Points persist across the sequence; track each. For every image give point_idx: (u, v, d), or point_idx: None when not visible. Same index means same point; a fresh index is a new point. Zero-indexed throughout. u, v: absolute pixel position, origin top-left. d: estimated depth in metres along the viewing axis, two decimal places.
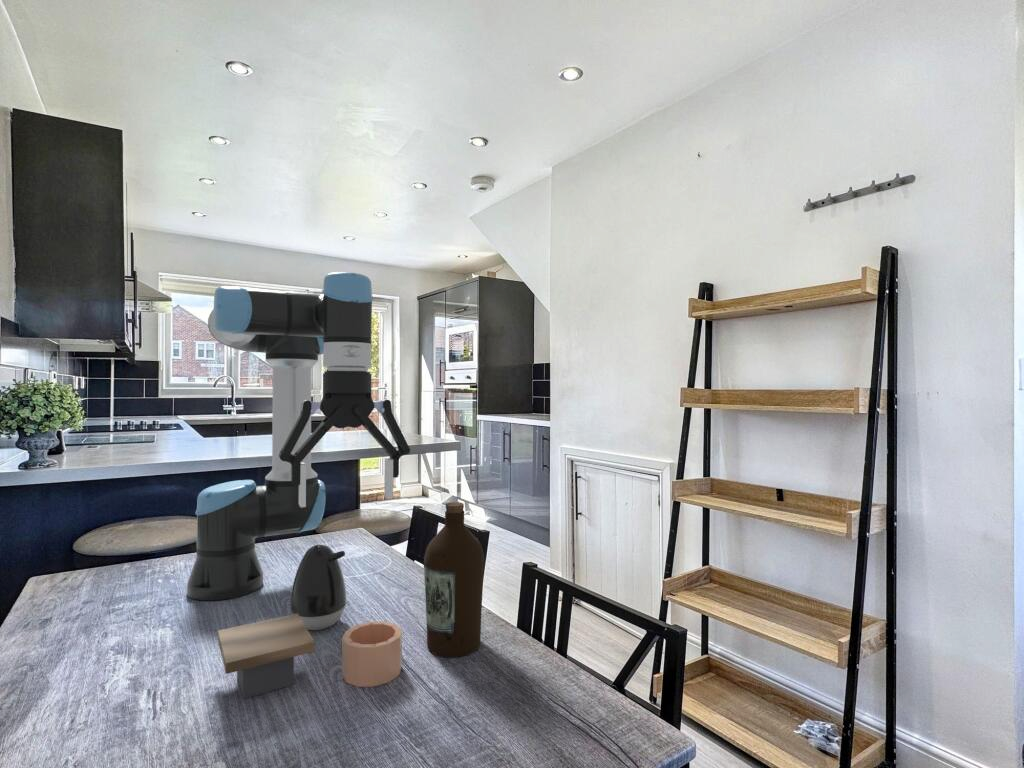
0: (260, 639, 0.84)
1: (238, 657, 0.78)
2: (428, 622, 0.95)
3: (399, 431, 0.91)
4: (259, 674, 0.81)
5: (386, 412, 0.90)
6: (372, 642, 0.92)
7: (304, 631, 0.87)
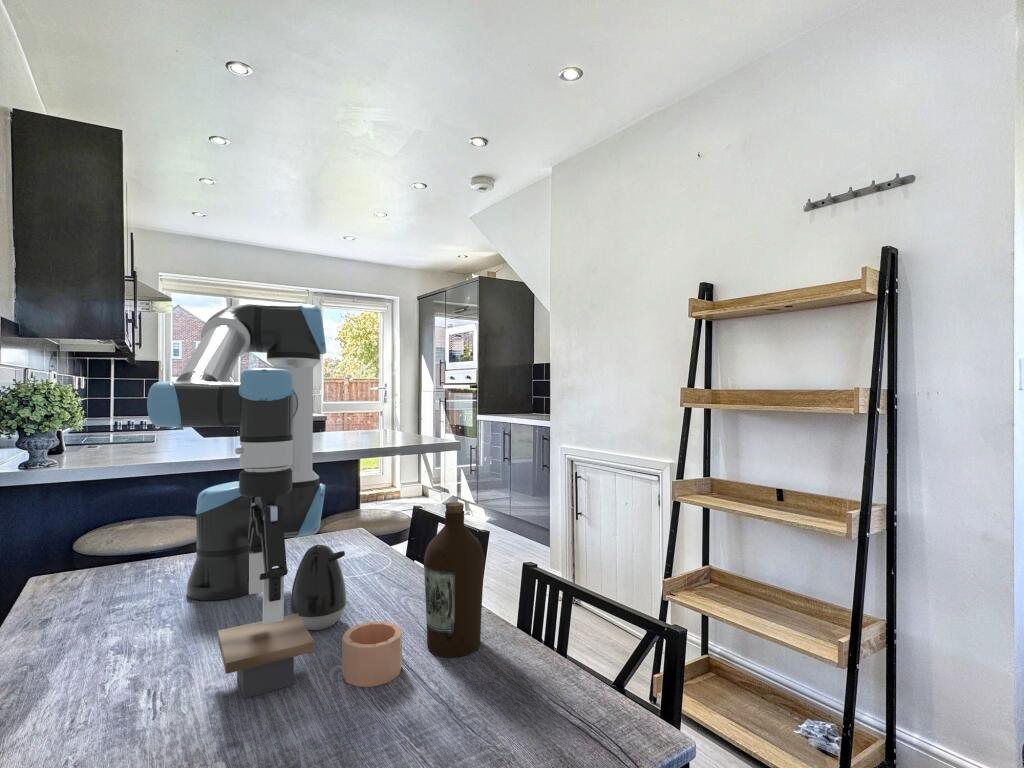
0: (260, 639, 0.84)
1: (238, 657, 0.78)
2: (428, 622, 0.95)
3: (266, 547, 0.77)
4: (259, 674, 0.81)
5: (264, 521, 0.79)
6: (372, 642, 0.92)
7: (304, 631, 0.87)
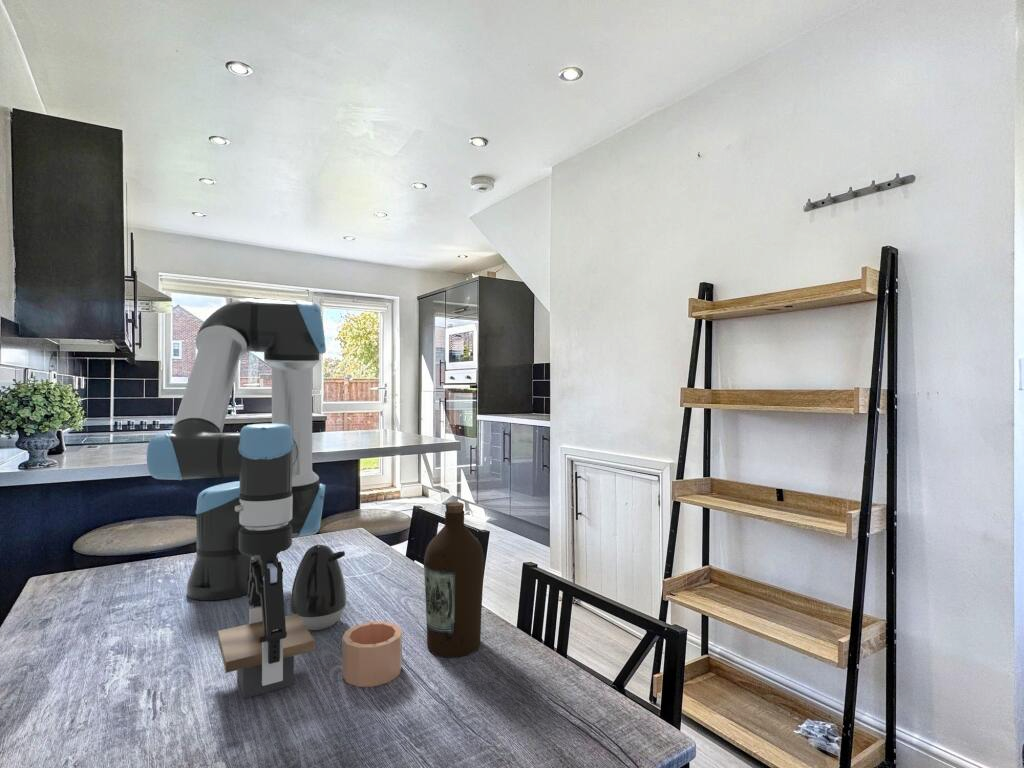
0: None
1: (238, 656, 0.78)
2: (428, 622, 0.95)
3: (265, 611, 0.78)
4: (259, 674, 0.81)
5: (263, 583, 0.79)
6: (372, 642, 0.92)
7: (304, 630, 0.87)
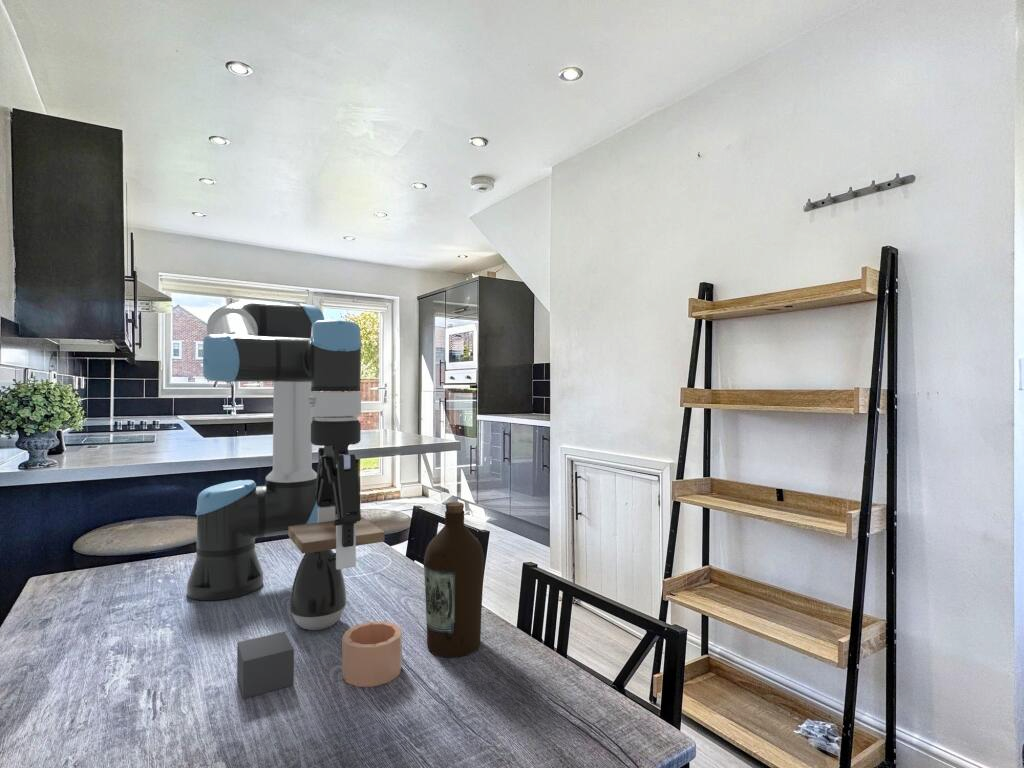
0: (331, 531, 0.85)
1: (313, 540, 0.80)
2: (428, 622, 0.95)
3: (340, 494, 0.79)
4: (259, 674, 0.81)
5: (337, 469, 0.81)
6: (372, 642, 0.92)
7: (372, 526, 0.88)
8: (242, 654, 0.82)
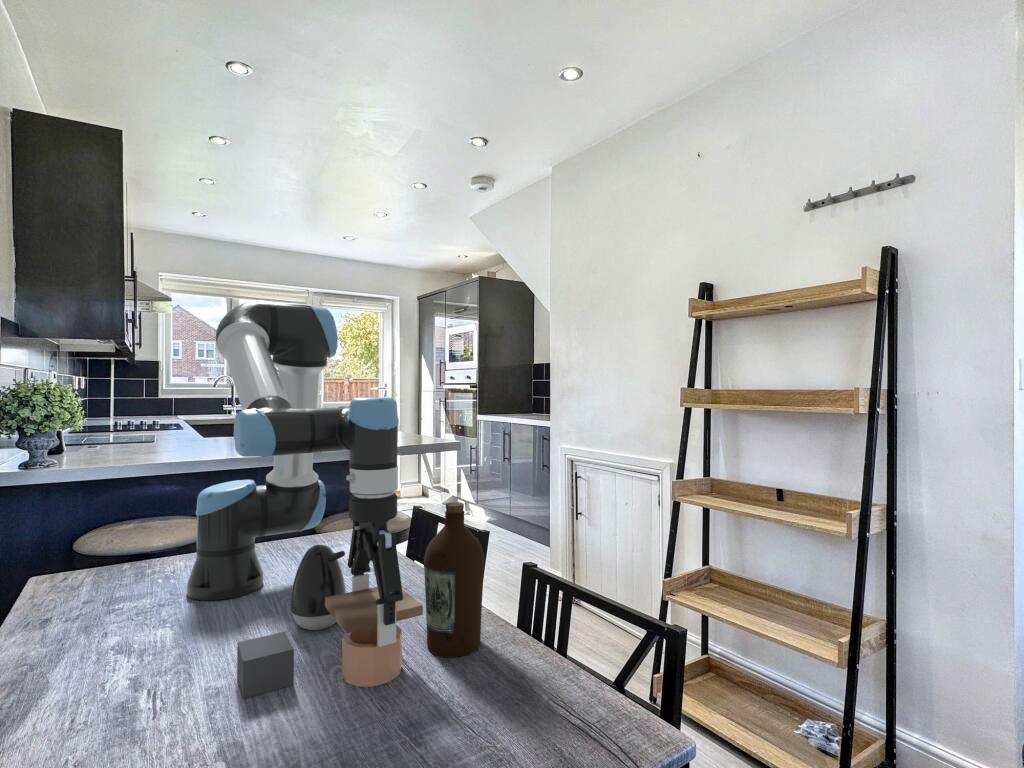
0: (370, 604, 0.87)
1: (356, 618, 0.81)
2: (428, 622, 0.95)
3: (383, 574, 0.81)
4: (259, 674, 0.81)
5: (378, 548, 0.82)
6: (372, 642, 0.92)
7: (408, 597, 0.90)
8: (242, 654, 0.82)
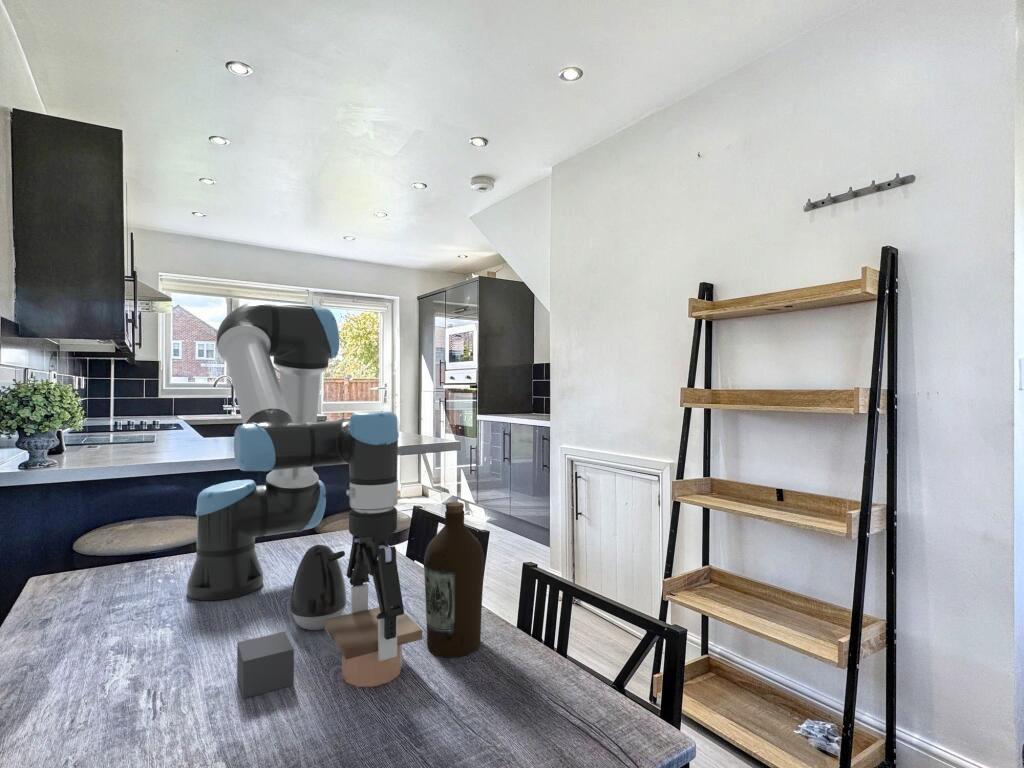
0: (369, 628, 0.87)
1: (356, 644, 0.81)
2: (428, 622, 0.95)
3: (383, 588, 0.81)
4: (259, 674, 0.81)
5: (378, 562, 0.82)
6: None
7: (408, 620, 0.90)
8: (242, 654, 0.82)
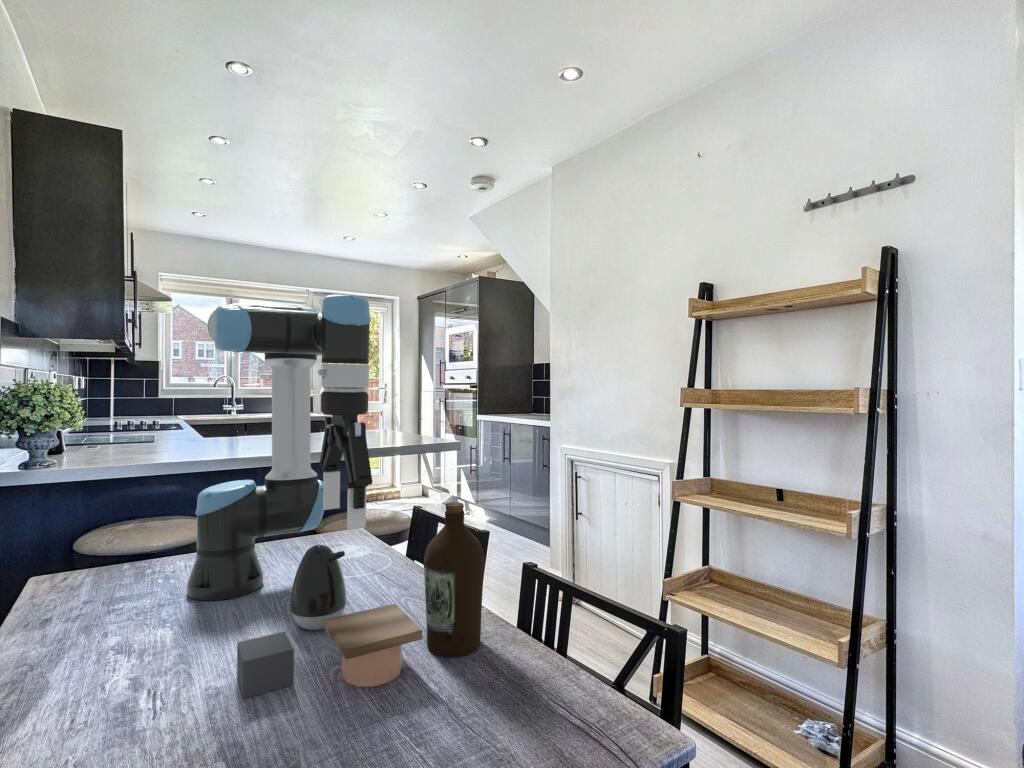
0: (369, 628, 0.87)
1: (356, 644, 0.81)
2: (428, 622, 0.95)
3: (353, 459, 0.83)
4: (259, 674, 0.81)
5: (348, 436, 0.85)
6: None
7: (408, 620, 0.90)
8: (242, 654, 0.82)
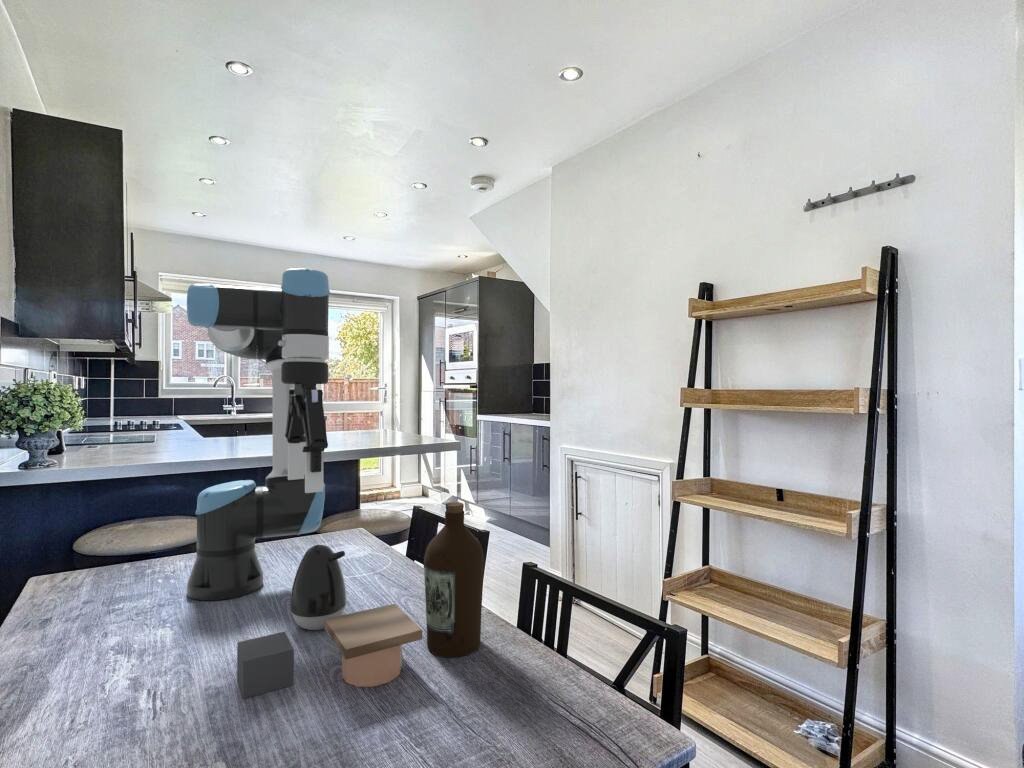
0: (369, 628, 0.87)
1: (356, 644, 0.81)
2: (428, 622, 0.95)
3: (309, 423, 0.86)
4: (259, 674, 0.81)
5: (306, 402, 0.88)
6: None
7: (408, 620, 0.90)
8: (242, 654, 0.82)
